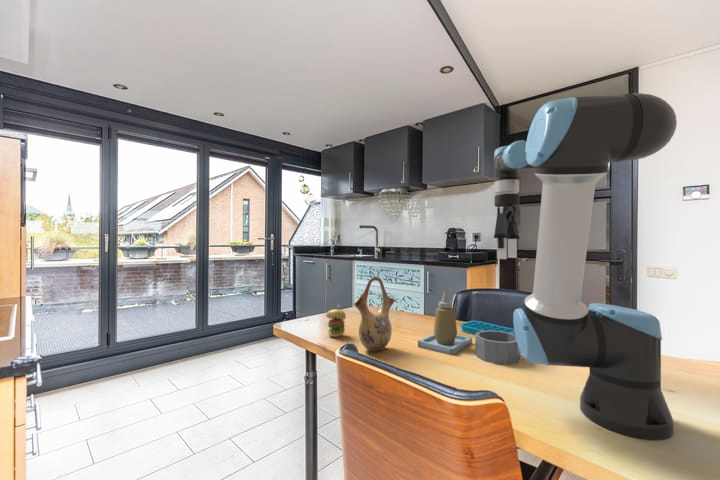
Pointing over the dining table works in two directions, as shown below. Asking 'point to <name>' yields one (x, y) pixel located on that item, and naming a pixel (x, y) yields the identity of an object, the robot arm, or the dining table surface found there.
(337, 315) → the hamburger
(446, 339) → the squeeze bottle
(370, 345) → the ceramic vessel
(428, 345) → the tray
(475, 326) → the ice cube tray
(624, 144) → the robot arm
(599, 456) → the dining table surface
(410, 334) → the dining table surface
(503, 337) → the grey faceted ring
